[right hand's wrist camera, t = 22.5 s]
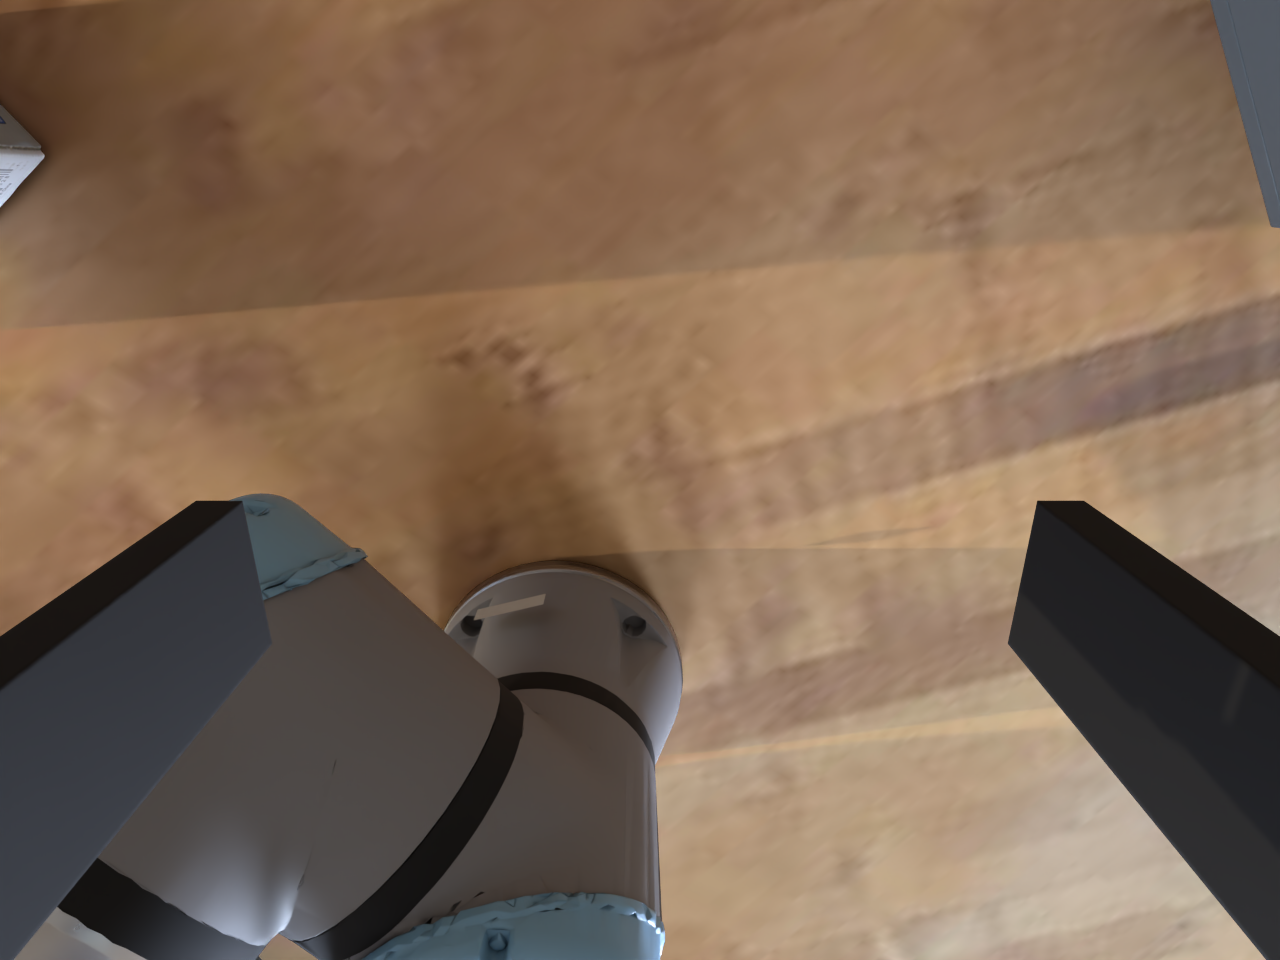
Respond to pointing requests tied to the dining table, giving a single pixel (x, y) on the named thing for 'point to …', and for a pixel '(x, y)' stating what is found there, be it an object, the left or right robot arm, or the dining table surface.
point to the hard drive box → (15, 154)
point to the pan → (1256, 84)
